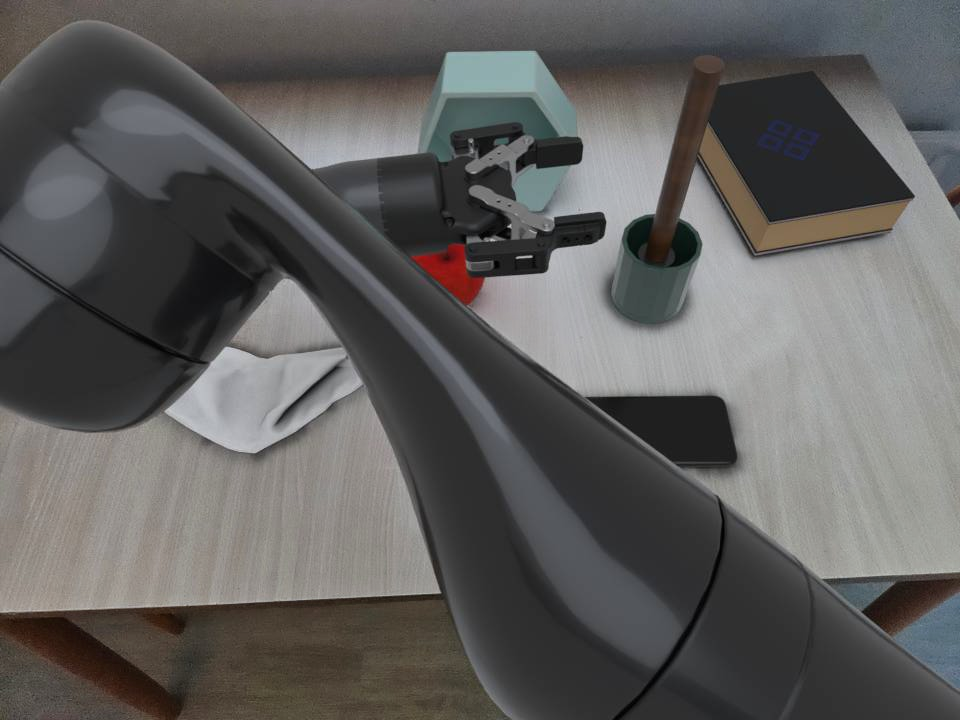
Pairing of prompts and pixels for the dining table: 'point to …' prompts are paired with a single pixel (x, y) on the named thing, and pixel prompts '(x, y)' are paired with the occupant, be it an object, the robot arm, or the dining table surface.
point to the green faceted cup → (654, 273)
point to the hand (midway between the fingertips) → (592, 185)
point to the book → (797, 166)
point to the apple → (452, 272)
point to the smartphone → (677, 426)
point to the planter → (500, 110)
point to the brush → (682, 159)
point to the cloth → (263, 396)
